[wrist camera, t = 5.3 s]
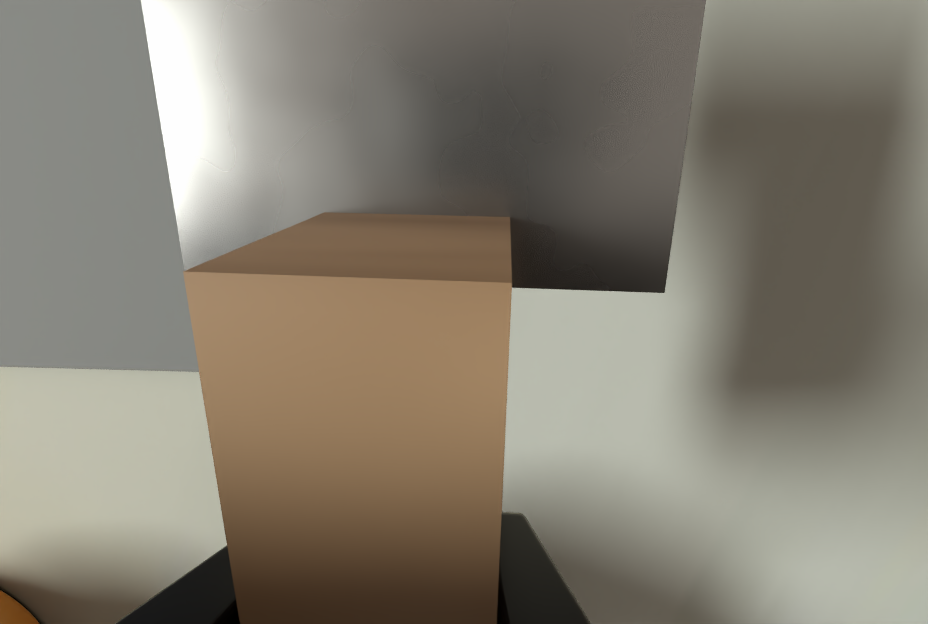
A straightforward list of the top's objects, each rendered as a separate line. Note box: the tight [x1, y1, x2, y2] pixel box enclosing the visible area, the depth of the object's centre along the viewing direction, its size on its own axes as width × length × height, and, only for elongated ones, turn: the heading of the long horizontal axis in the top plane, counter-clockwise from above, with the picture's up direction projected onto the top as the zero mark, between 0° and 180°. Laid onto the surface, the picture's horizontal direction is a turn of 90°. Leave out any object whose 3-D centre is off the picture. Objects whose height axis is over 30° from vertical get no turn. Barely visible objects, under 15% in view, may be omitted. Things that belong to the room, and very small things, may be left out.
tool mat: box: [0, 0, 199, 372], centre depth 17 cm, size 22×13×1 cm, turn 1°
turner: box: [141, 0, 706, 624], centre depth 7 cm, size 14×7×4 cm, turn 179°
